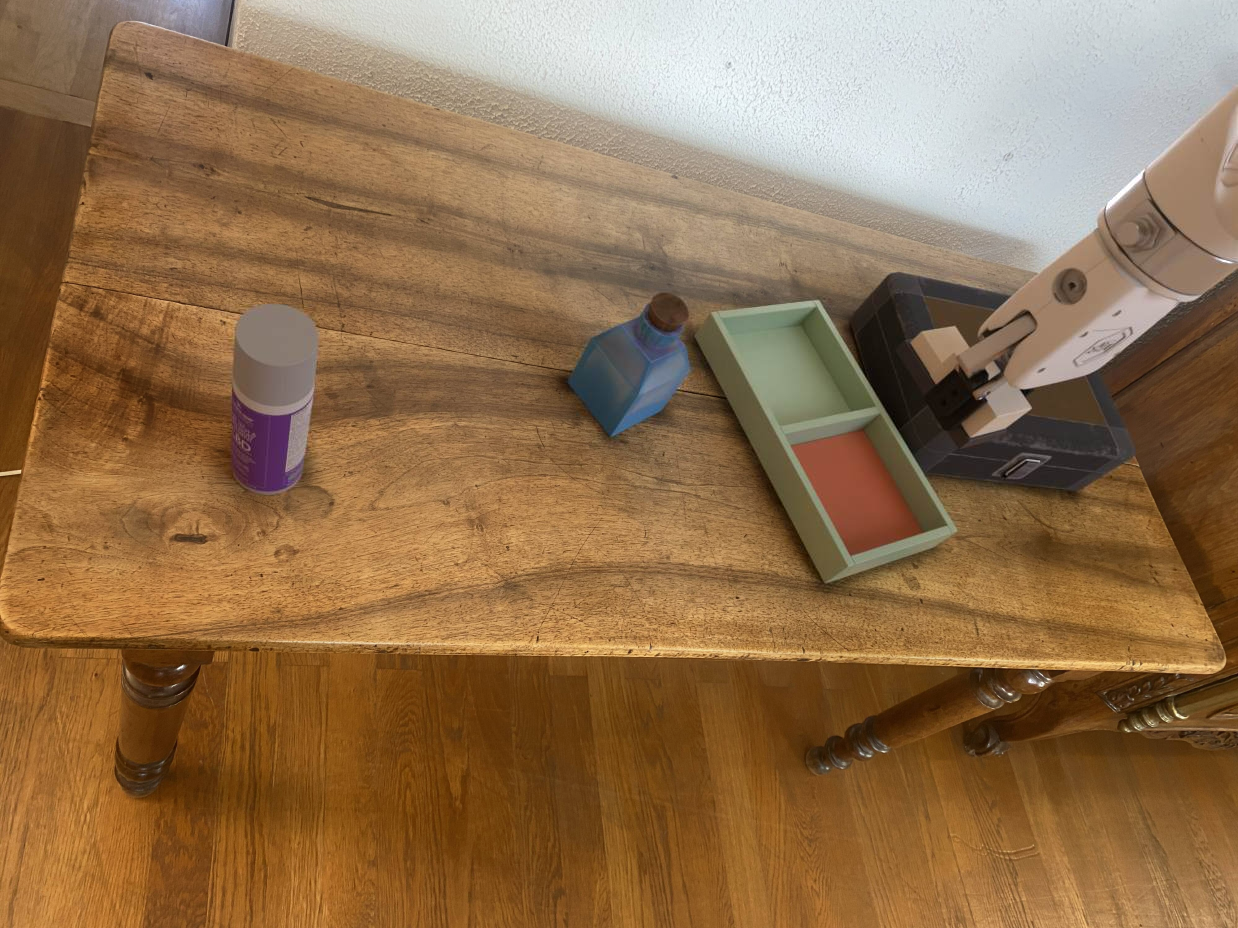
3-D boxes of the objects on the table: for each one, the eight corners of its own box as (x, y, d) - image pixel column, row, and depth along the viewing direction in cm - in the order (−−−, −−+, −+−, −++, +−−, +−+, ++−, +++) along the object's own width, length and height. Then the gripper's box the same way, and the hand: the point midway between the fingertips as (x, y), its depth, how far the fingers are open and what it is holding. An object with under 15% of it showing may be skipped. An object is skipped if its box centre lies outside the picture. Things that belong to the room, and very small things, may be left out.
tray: (800, 322, 90) (819, 299, 87) (932, 547, 81) (958, 530, 78) (693, 335, 83) (710, 312, 81) (824, 583, 74) (848, 566, 71)
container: (217, 476, 60) (215, 342, 48) (254, 427, 62) (261, 288, 51) (281, 506, 60) (295, 381, 48) (315, 456, 63) (336, 326, 51)
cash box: (893, 479, 83) (946, 436, 77) (844, 314, 93) (887, 265, 87) (1086, 499, 92) (1147, 463, 86) (1022, 347, 102) (1073, 304, 96)
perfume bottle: (619, 358, 78) (673, 268, 69) (661, 411, 77) (722, 326, 68) (567, 382, 75) (616, 290, 65) (610, 437, 74) (667, 352, 64)
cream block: (996, 439, 65) (1036, 410, 62) (958, 449, 63) (996, 420, 60) (933, 342, 68) (968, 310, 65) (895, 349, 66) (928, 316, 63)
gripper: (1127, 299, 45) (907, 473, 59) (1282, 274, 53) (1056, 431, 68) (1044, 192, 47) (853, 383, 62) (1204, 183, 56) (1003, 354, 70)
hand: (961, 407), depth 65 cm, fingers closed on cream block, 4 cm apart
